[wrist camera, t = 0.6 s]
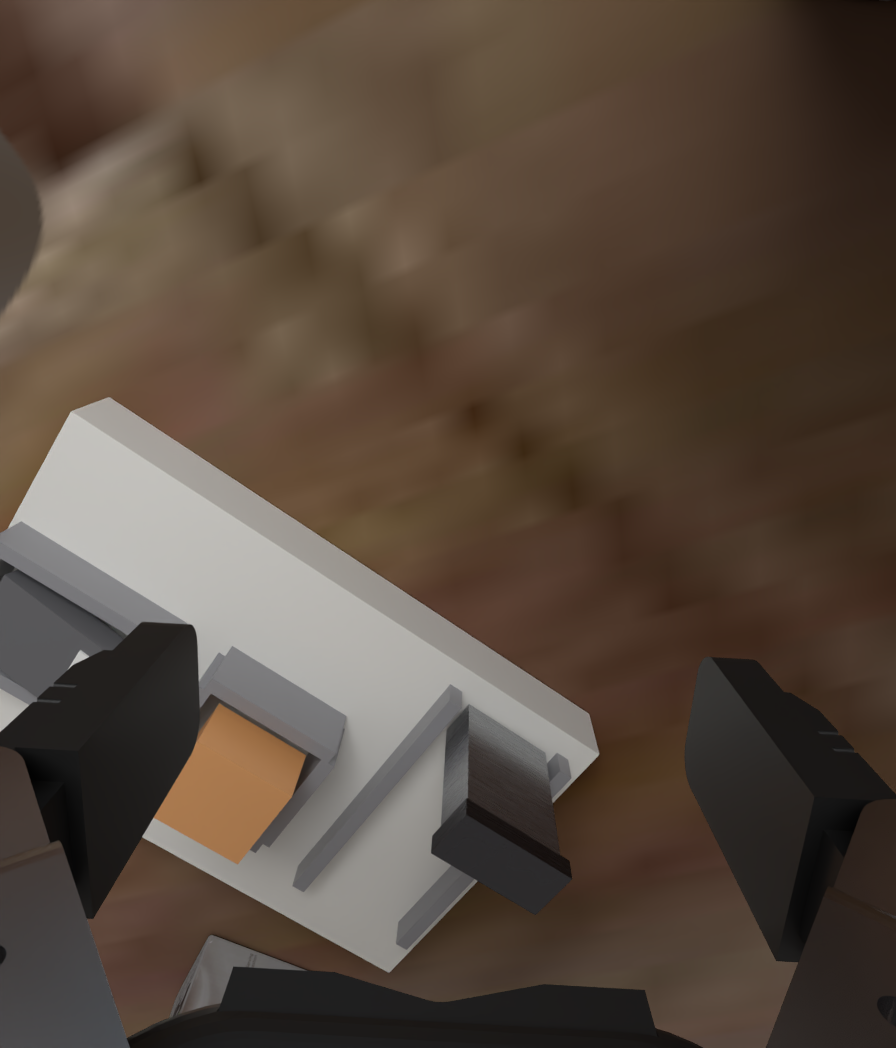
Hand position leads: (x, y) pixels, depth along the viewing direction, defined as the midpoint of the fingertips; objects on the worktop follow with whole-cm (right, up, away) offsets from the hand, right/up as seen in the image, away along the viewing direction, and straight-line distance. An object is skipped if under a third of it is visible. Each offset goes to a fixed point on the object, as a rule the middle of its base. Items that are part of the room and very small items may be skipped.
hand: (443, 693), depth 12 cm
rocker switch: (-15, -2, +17) cm, 23 cm away
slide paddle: (+2, -7, +19) cm, 20 cm away
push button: (-8, -7, +18) cm, 21 cm away
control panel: (-8, -5, +23) cm, 25 cm away
